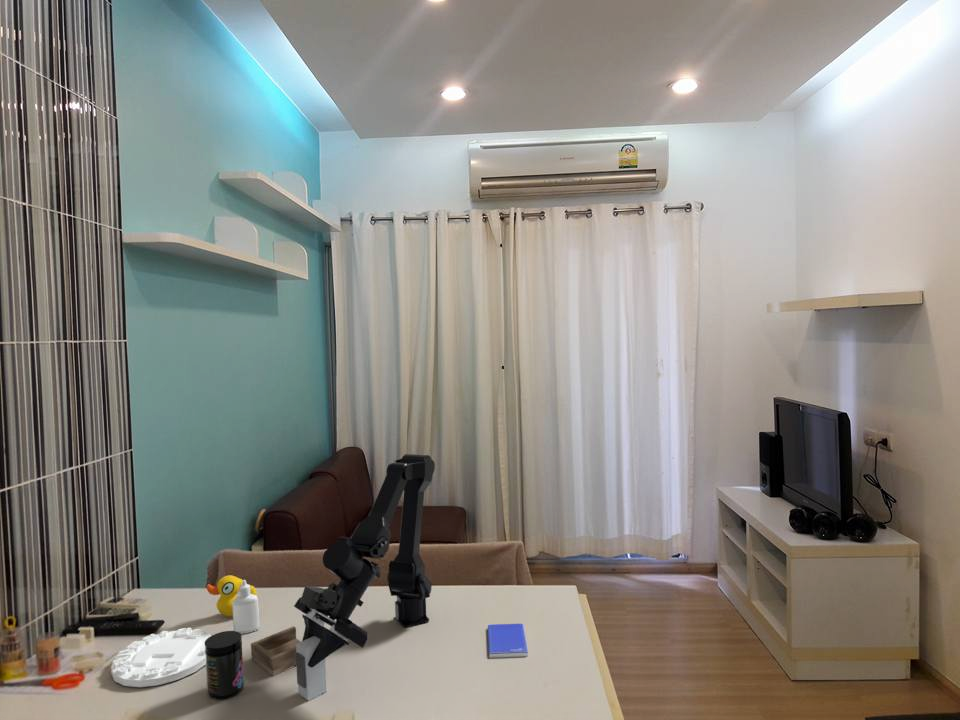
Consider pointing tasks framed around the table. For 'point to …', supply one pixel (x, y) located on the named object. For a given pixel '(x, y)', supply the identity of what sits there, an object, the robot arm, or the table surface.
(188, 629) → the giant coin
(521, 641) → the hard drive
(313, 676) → the block
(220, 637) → the supplement container
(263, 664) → the wooden tray
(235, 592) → the duckling
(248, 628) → the eye dropper bottle
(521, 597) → the table surface
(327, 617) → the robot arm
